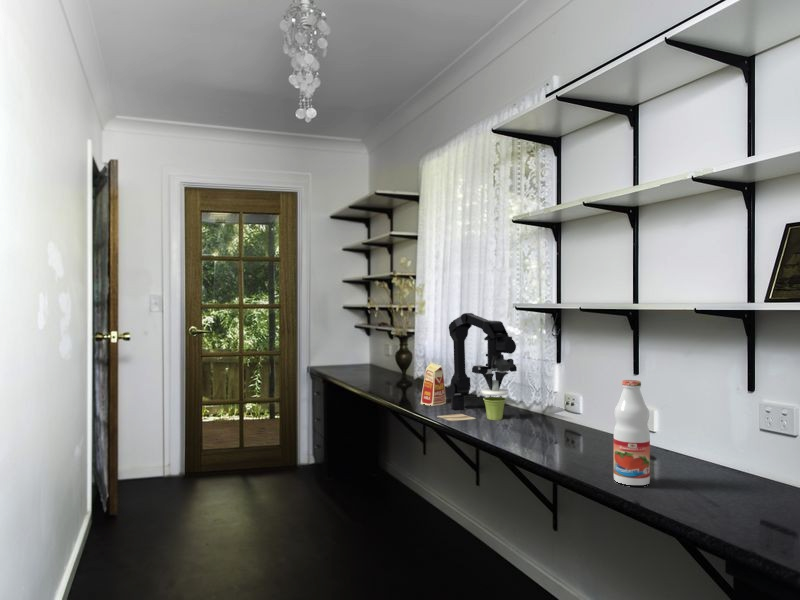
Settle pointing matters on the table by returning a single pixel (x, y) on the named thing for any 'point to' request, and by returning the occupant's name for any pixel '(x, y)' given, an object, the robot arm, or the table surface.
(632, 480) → the fruit juice
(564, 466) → the table surface
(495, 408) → the plant pot
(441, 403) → the milk carton
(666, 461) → the table surface
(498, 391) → the lid
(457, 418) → the mat
